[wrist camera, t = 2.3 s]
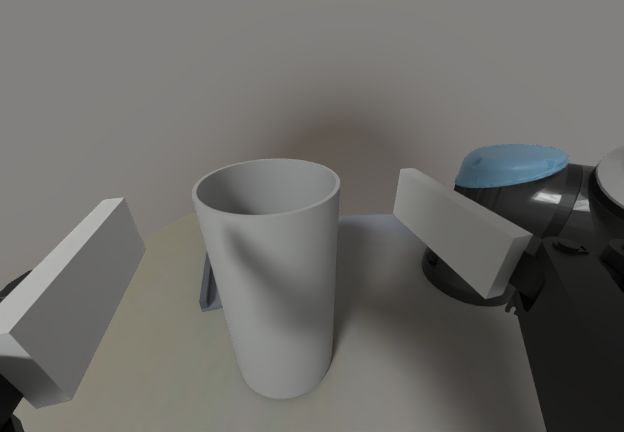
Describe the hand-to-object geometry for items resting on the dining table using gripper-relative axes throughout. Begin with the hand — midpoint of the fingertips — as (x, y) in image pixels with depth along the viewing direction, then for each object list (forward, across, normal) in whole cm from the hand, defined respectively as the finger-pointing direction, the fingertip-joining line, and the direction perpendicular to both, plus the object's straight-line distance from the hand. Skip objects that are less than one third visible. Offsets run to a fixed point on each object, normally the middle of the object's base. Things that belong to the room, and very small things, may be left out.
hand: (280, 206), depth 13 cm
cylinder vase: (+10, 0, -28) cm, 30 cm away
